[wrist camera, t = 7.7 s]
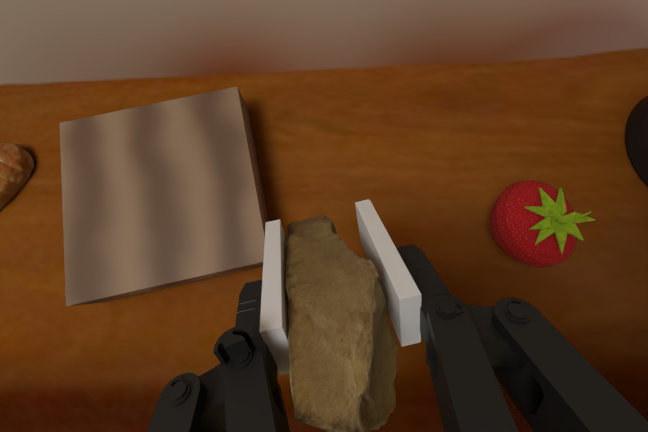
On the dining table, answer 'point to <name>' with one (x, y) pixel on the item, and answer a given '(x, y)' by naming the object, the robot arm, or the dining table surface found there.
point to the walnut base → (160, 197)
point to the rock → (337, 332)
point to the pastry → (13, 170)
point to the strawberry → (535, 224)
